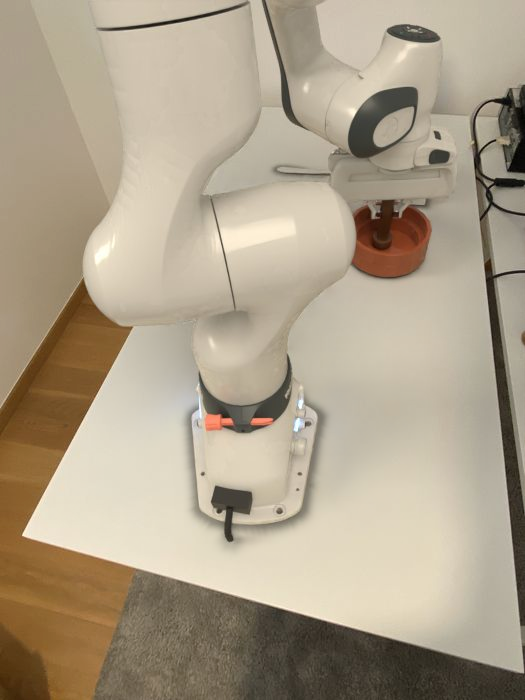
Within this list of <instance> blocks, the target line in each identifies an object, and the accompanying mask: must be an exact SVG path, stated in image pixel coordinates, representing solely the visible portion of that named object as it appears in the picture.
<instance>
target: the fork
mask: <svg viewBox="0 0 525 700" xmlns="http://www.w3.org/2000/svg"><path fill="white" fill-rule="evenodd" d="M276 171H278V172H279V173H284V174H285V173H286V174H311V175H312V174H313V175H315V174H319V175H321V174H324V175H326V174H329V175H331V171H330V170H322V169H312V168H311V169H309V168H300V167H291V166H280V167H277V169H276Z"/></svg>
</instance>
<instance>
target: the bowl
mask: <svg viewBox="0 0 525 700" xmlns="http://www.w3.org/2000/svg"><path fill="white" fill-rule="evenodd" d="M381 201H382V200H377V201H376V204H375V205H380V207H381ZM398 203H399V202H397V201H395V203H394V205H398ZM352 215H353V218H354V222H355V227H356V248H355V253H354V257H353V259H352V262H351V264H353V265H354V266H355V267H356V268H357V269H359V270H360V271H363V272H364V273H367V274H369V275H372V276H376V277H380V278H381V277H382V278H397V277H401V276H404V275H408V274H410V273H412V272H414V271H415V270H417V269H418V268H420V266H421V265H422V264H423V263H424V261H425V259H426V255H427V252H428V248H429V243H430V239H431V236H432V231H433V228H432V224H431V220H430V219H429V218H428V217H427V215H426V214H425V213H424V212H423V211H421V210H420V209H418V208H417V207H415V206H414V205H409V206H408V207H407V208H406V209H405V210H404V211H402V217H401V218H392V221H391V227H390V233H391V234H392V236H393V239H392V244H391V246H390V247H389V248H386V249H378V248H376V247H374V246H373V244H372V238H373V234H374V233H375V232H376V231H377V230H378V223H379V219H372V218H371V210H370V208H369V206H368V205H367V204H365V205H363V206H361V207H359V208H357V209H356V211H354V212H353V213H352Z"/></svg>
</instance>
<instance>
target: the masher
mask: <svg viewBox="0 0 525 700" xmlns="http://www.w3.org/2000/svg"><path fill="white" fill-rule="evenodd" d="M380 201H381V208H380V209H381V215H380V216H381V218H380V219H379V223H378V230H377V231H376V232H375V233H374V234H373V238H372V244H373V246H374V247H376V248H378V249H386V248H389V247H390V246H391V244H392V239H393V236H392V234H391V233H390V227H391V221H392V215H393V209H394V203H395V202H396V200H380Z"/></svg>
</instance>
